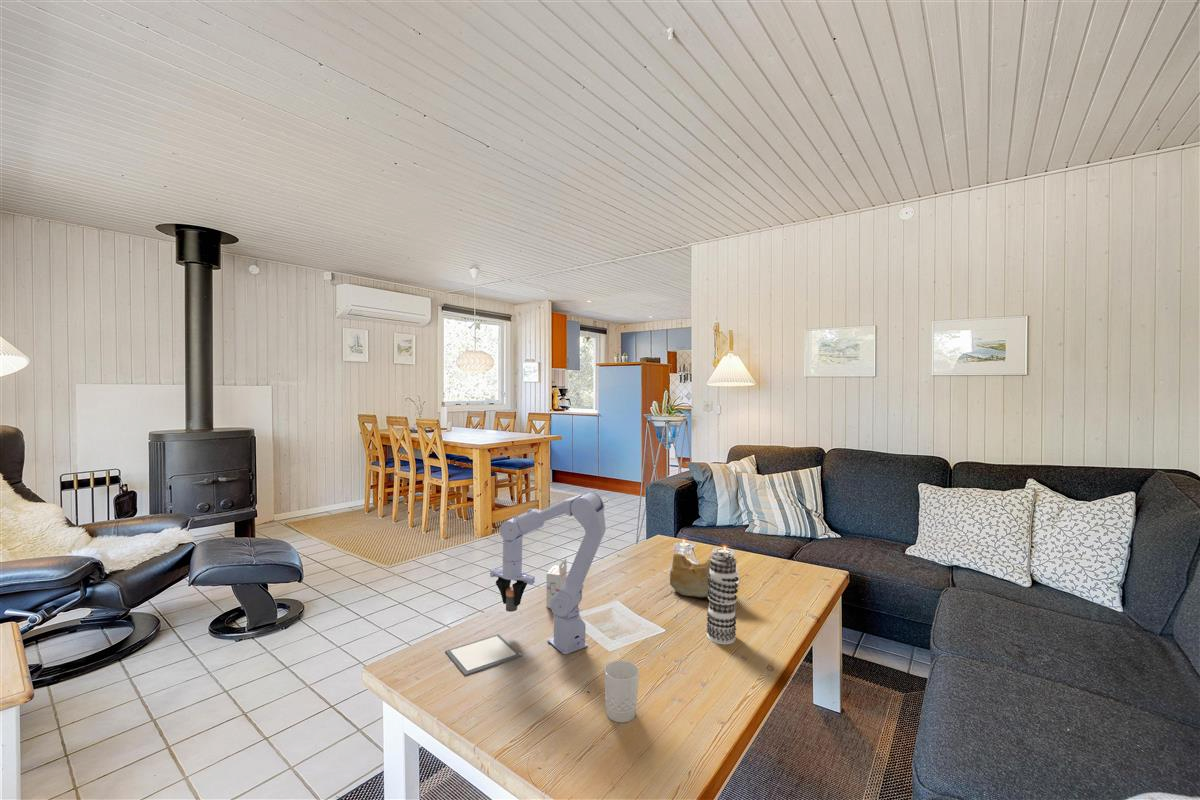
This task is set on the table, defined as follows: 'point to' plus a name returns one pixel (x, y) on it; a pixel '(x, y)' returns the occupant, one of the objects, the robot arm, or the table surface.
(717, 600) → the decorative candle
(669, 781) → the table surface
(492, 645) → the writing pad
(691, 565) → the rough brown rock
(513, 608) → the orange-topped grey cylinder
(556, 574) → the ink cartridge box
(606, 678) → the white cup
